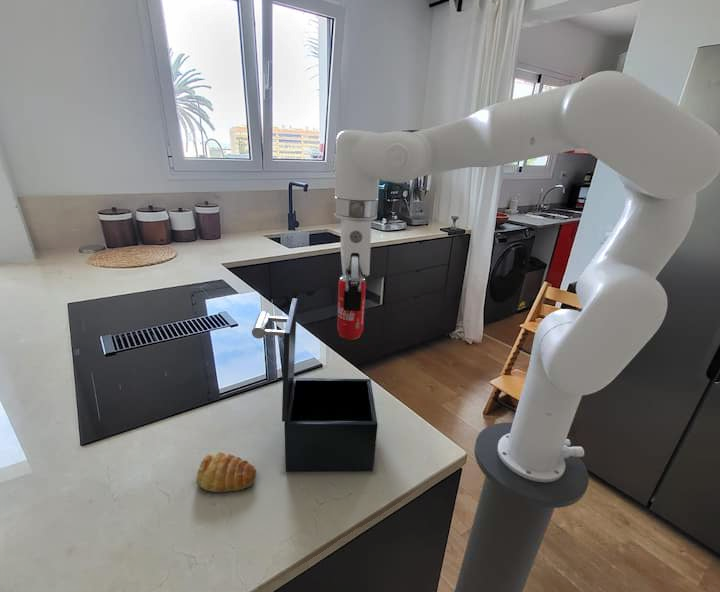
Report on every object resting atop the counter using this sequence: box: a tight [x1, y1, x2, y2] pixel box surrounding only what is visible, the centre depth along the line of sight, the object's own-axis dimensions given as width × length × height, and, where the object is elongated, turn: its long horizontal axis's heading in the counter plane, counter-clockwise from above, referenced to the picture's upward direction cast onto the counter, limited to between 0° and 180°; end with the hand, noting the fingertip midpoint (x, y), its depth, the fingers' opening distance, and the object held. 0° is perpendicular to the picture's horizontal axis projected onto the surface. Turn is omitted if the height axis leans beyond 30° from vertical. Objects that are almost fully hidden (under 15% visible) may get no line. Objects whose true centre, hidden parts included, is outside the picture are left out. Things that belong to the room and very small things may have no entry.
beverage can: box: [336, 274, 367, 340], centre depth 77 cm, size 5×5×12 cm
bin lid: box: [251, 297, 298, 423], centre depth 67 cm, size 16×14×6 cm
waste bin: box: [283, 377, 379, 473], centre depth 74 cm, size 16×14×11 cm
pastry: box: [195, 452, 257, 493], centre depth 66 cm, size 9×7×4 cm
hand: (351, 303), depth 76 cm, fingers closed on beverage can, 5 cm apart
